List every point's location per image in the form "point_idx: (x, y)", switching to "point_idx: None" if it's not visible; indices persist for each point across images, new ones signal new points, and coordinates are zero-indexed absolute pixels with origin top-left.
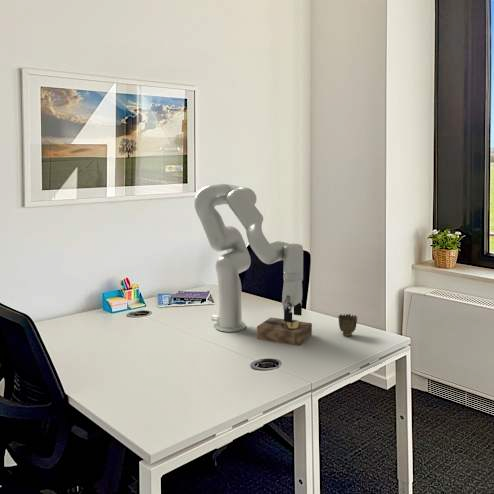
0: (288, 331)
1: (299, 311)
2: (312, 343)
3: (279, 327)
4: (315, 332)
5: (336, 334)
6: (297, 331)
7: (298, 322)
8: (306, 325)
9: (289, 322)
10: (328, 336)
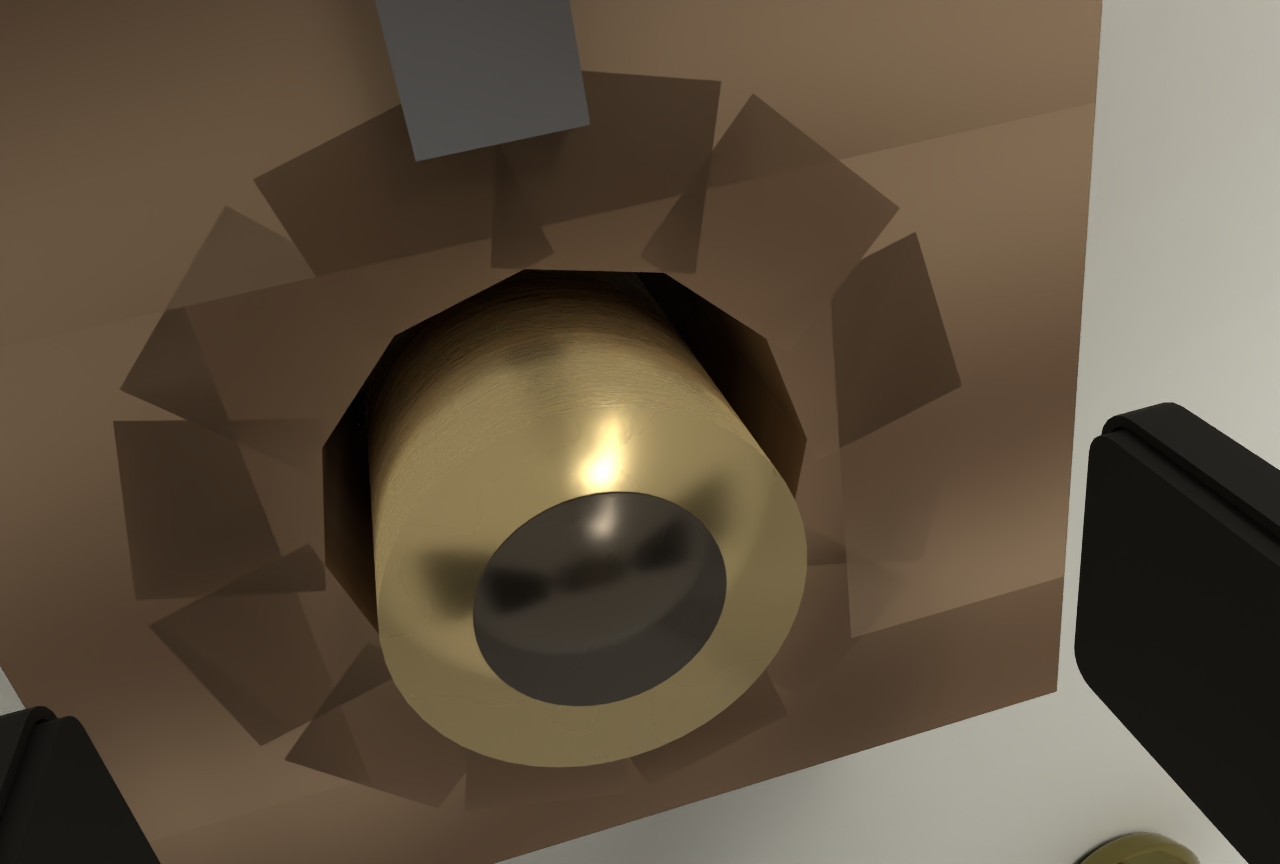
0: (31, 699)
1: (1182, 744)
2: None
3: (91, 248)
4: (1087, 472)
5: (1115, 754)
6: (232, 861)
7: (972, 419)
8: (828, 714)
9: (391, 610)
10: (975, 734)
